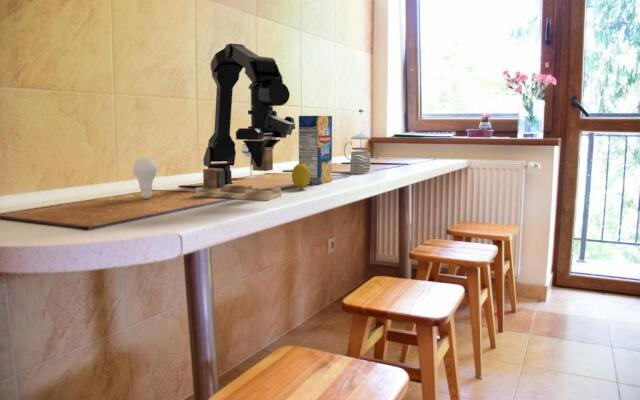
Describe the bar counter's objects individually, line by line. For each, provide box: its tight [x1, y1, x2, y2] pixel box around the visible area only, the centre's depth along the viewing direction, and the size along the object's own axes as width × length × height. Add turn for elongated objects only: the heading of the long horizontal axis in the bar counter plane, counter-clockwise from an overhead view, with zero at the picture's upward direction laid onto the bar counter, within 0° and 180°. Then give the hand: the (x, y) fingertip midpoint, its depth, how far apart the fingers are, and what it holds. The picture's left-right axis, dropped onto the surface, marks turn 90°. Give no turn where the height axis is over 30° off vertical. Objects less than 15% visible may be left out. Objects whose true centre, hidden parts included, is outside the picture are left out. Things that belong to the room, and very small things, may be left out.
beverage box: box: [298, 115, 333, 186], centre depth 181 cm, size 7×11×22 cm, turn 154°
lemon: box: [291, 162, 310, 190], centre depth 164 cm, size 6×6×8 cm
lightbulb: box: [132, 156, 158, 200], centre depth 143 cm, size 6×6×11 cm
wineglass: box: [240, 143, 258, 179], centre depth 198 cm, size 7×7×12 cm
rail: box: [194, 168, 282, 201], centre depth 148 cm, size 22×8×7 cm, turn 70°
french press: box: [343, 108, 373, 175], centre depth 218 cm, size 10×12×25 cm
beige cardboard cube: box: [251, 147, 274, 172], centre depth 145 cm, size 5×4×6 cm
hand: (262, 166), depth 145 cm, fingers closed on beige cardboard cube, 4 cm apart
